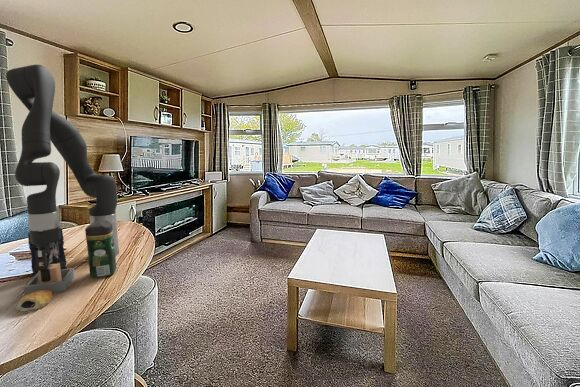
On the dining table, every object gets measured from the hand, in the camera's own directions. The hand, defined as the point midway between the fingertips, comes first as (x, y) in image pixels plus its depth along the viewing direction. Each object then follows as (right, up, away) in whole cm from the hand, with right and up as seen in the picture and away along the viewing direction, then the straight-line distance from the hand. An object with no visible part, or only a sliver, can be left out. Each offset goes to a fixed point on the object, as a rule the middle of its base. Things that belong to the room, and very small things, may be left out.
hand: (50, 276), depth 101 cm
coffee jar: (+10, -2, +11) cm, 15 cm away
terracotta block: (0, -3, +1) cm, 3 cm away
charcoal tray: (0, -3, +1) cm, 4 cm away
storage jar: (-9, -2, +12) cm, 15 cm away
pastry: (+4, -6, -11) cm, 13 cm away
